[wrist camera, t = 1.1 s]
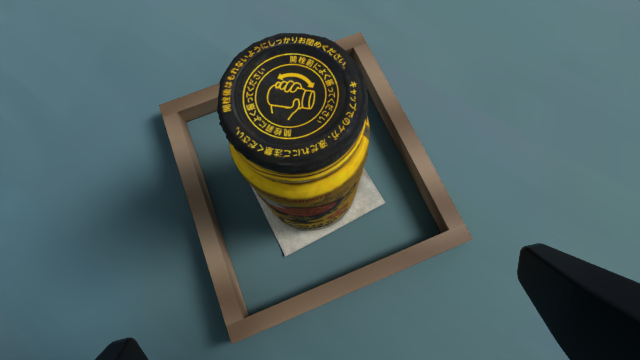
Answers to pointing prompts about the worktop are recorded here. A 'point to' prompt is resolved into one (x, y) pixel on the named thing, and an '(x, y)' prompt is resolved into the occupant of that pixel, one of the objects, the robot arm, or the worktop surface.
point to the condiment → (299, 134)
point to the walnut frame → (247, 326)
